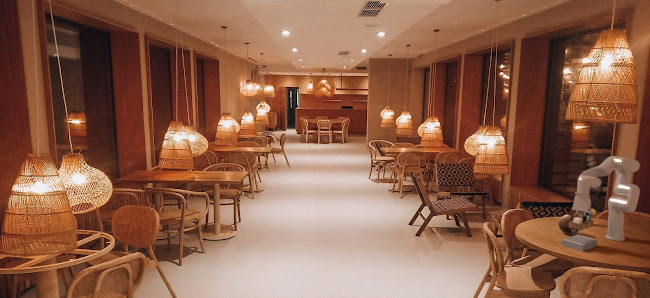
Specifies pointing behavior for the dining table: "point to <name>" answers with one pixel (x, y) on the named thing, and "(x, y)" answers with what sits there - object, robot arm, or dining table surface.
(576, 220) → the crate white
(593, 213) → the cup
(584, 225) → the wooden caddy
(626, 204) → the robot arm
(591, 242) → the block
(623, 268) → the dining table surface
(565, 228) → the wooden sphere
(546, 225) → the dining table surface
